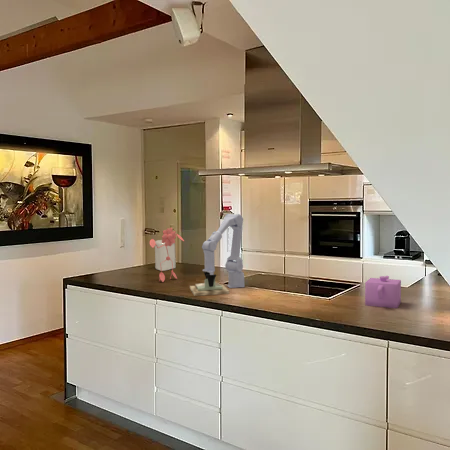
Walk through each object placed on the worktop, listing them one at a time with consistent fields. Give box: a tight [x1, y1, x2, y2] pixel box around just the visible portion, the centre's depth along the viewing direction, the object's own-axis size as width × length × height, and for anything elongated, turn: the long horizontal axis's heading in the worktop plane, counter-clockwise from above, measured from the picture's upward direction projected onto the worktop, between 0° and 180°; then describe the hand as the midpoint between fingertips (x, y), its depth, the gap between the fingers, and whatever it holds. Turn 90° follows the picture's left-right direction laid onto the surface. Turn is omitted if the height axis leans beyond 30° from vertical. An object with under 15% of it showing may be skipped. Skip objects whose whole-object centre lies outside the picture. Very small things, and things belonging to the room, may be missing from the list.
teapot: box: [364, 275, 402, 309], centre depth 237 cm, size 15×25×14 cm, turn 152°
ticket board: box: [189, 282, 230, 297], centre depth 274 cm, size 20×20×3 cm
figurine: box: [149, 227, 185, 284], centre depth 303 cm, size 15×26×35 cm, turn 136°
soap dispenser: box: [154, 239, 177, 272], centre depth 352 cm, size 15×14×22 cm
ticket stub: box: [197, 278, 222, 291], centre depth 271 cm, size 14×5×6 cm, turn 101°
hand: (210, 285), depth 269 cm, fingers open, 7 cm apart
